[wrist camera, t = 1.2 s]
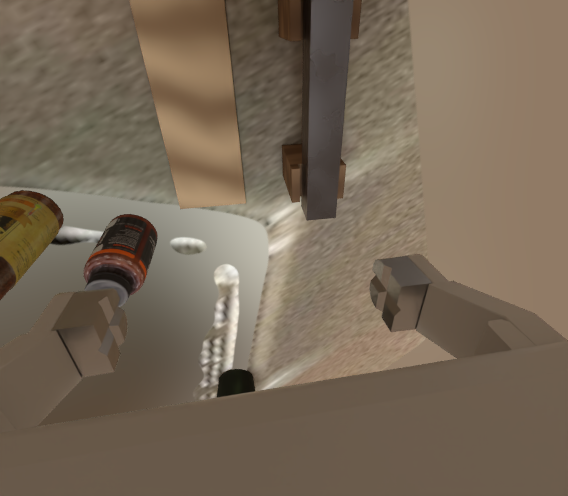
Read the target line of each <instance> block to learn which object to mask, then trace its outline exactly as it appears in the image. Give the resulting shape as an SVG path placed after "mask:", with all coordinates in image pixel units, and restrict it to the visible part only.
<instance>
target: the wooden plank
mask: <svg viewBox="0 0 568 496" xmlns="http://www.w3.org/2000/svg"><path fill="white" fill-rule="evenodd" d="M129 1H130V6H131V10H132V14H133V18H134V22H135V26H136V30H137V34H138V38H139V42H140V46H141V50H142V54H143V58H144V62H145V67H146V71H147V75H148V79H149V83H150V87H151V91H152V95H153V99H154V103H155V107H156V111H157V115H158V119H159V123H160V128H161V132H162V136H163V140H164V144H165V148H166V152H167V156H168V160H169V164H170V168H171V172H172V176H173V180H174V185H175V189H176V193H177V197H178V201H179V205H180V209H185V208H197V207H209V206H220V205H232V204H243V203H246V199H245V190H244V181H243V171H242V162H241V152H240V143H239V134H238V124H237V115H236V105H235V96H234V87H233V77H232V68H231V59H230V49H229V40H228V30H227V21H226V12H225V2H224V0H129Z"/></svg>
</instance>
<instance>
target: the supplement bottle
mask: <svg viewBox="0 0 568 496" xmlns="http://www.w3.org/2000/svg"><path fill="white" fill-rule="evenodd" d="M156 243H157V232H156V229H155V228H154V226H153V225H152V224H151V223H150V222H149V221H148V220H146V219H145V218H143V217H140V216H137V215H132V214H124V215H120V216H117V217H116V218H114V219H113V220H112V221H111V222H110V223H109V225H108V226H107V228H106V229H105V231H104V233H103V235H102V236H101V238H100V240H99V242H98V243H97V245H96V247H95V249H94V250H93V252H92V254H91V256H90V257H89V259H88V261H87V263H86V265H85V268H84V277H85V280H86V282H87V285H86V287H85V291H88V290H99V289H110V288H113V289H115V290H116V291H117V293H118V295H119V298H120V300H119V303H118V305H117V306H118V307H120V306H122V305H124V304H125V303H126V302H127V300H128V298H129V296H130V295H132V294H134V293H135V292H137V291H138V290H139V289H140V288H141V287H142V285H143V283H144V280H145V278H146V275H147V271H148V269H149V265H150V262H151V259H152V256H153V253H154V250H155V246H156Z"/></svg>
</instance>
